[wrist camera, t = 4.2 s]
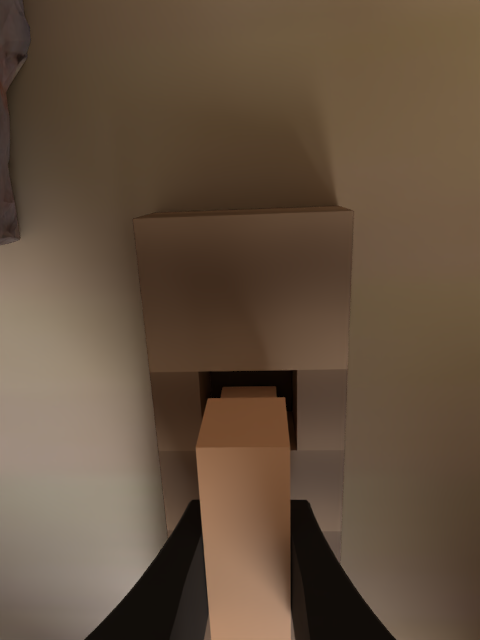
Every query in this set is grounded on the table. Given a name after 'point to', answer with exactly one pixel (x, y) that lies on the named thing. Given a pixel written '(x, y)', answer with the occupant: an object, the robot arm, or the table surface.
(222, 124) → the table surface
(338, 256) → the rail
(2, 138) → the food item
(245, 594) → the tan wooden block
